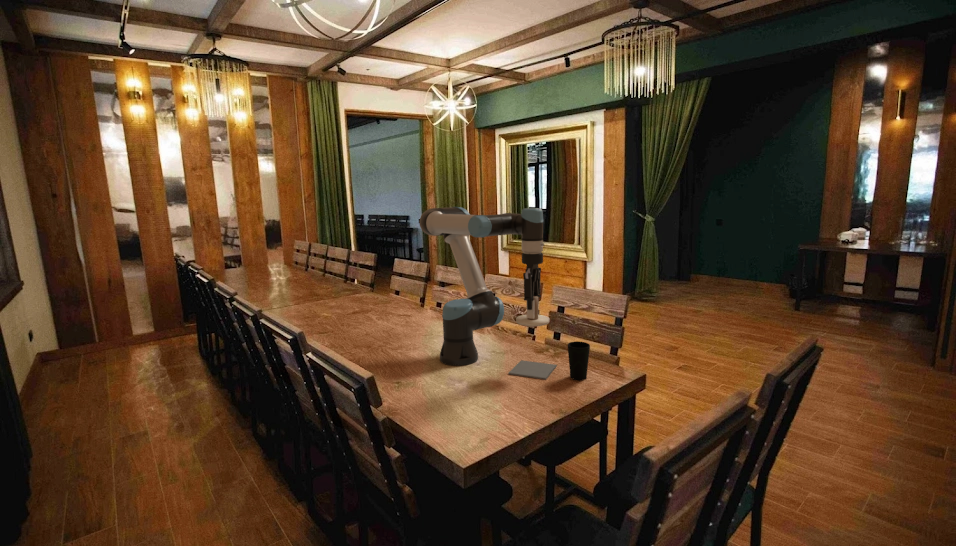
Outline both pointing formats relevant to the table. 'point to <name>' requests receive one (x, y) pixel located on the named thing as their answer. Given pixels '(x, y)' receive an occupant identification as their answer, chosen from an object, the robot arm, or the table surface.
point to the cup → (578, 359)
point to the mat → (533, 369)
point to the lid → (538, 319)
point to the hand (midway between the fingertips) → (532, 316)
